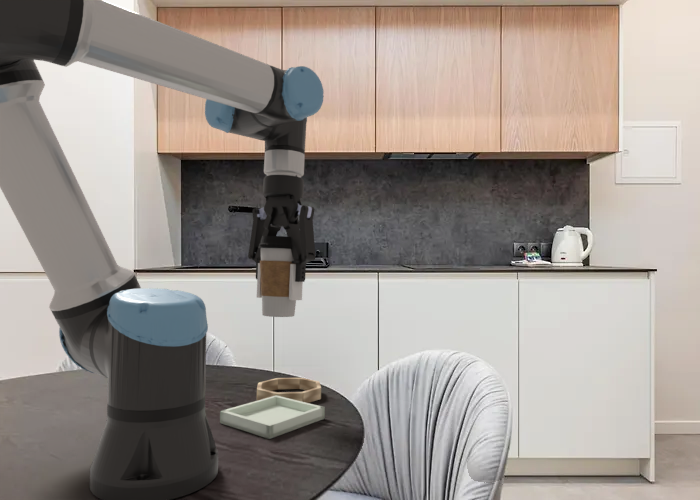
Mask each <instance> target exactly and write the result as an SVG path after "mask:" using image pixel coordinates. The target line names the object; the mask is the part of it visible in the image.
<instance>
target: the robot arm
mask: <svg viewBox="0 0 700 500" xmlns="http://www.w3.org/2000/svg"><path fill="white" fill-rule="evenodd" d="M35 61H42V62H46V63H50V64H54V65H57V66H61V67H65V68H66V67H69V66H70V65H72V64H74V63H77V62H79V63H83V64H87V65H88V66H89V65H90V66H93V67H96V68H99V69H104V70H106V71H110V72H113V73H117V74H120V75H123V76H127V77H129V78H130V77H131V78H133V79H138V80H141V81H144V82H148V83H151V84H155V85H158V86H161V87H164V88H167V89H171V90H175V91H179V92H182V93H186V94H188V95H191V96H195V97H198V98H201V99H205V104H204V105H205V106H204V116H205V120H206V122H207V124H208V125H209V126H210V127H212V128H213V129H216V130H219V131H222V132H224V133H226V134H233V135H238V136H242V137H246V138H251V139H256V140H260V141H264V158H263V159H264V162H263V163H264V164H263V173H264V175H265V176H264V177H263V181H262V182H263V183H262V184H263V186H262V195H263V196H264V198H265V202H264V205H263V207H261V208H252V219H253V220H252V227H251V236H250V239H249V241H250V242H249V248H248V253H247V254H248V255H247V257H248V259H249V260H252V261H254V262H255V279H256V281H257V283H256V298H259V299H262V294H261V274H260V261H261V249H259V244H260V243H261V239H262V236H278V233H279V232H280V231H281V228H283V229H284V230H285V233H286V235H287V236H286V237H291V241H292V249H291V252H292V256H293V259H294V260H293V261H291V262H292V263H293V264H290V284H289V300H296V301H303V282H304V283H305V281H306V270H307V269H306V268H307V267H306V266H307V264H308V263H310V262H311V261H315V260H316V246H315V233H314V232H315V231H314V216H315V207H313V206H308V205H305V204H304V205H303V203H302V200H301V199H302V198H303V197H304V189H305V187H304V185H305V180H304V179H303V178H302V177H303V176H304V175H305V156H306V154H305V152H306V135H307V132H306V131H307V122H308V118H309V117H311V116H313V115H315V114H317V113H318V112H319V111H320V110H321V109H322V108H321V107H322V106H323V103H324V94H325V93H324V92H325V91H324V86H323V84H322V81H321V79H320V77H319V75H318V74H317V73H316V72H315V71H314V70H313V69H311V68H310V67H308V66H304V65H303V66H302V65H300V66H299V65H298V66H294V67H292V66H291V67H288V68H287V69H281V68H279V67H276V66H273V65H270V64H268V63H265V62H262V61H260V60H257V59H255V58H253V57H250V56H247V55H244V54H242V53H240V52H237V51H234V50H232V49H230V48H227V47H224V46H222V45H219V44H217V43H214V42H212V41H210V40H206V39H204V38H201V37H198V36H196V35H194V34H191V33H189V32H186V31H183V30H181V29H178V28H176V27H173V26H170V25H169V24H166V23H162V22H160V21H157V20H155V19H153V18H150V17H147V16H145V15H143V14H140V13H137V12H135V11H132V10H130V9H127V8H125V7H122V6H120V5H117V4H114V3H113V2H112V3H111V2H109V1H106V0H0V190H1V192H2V193H3V195H4V198H5V199H6V202H7V203H8V205H9V207H10V209H11V210H12V212H13V214H14V216H15V218H16V220H17V222H18V223H19V225H20V228H21V230H22V231H23V233H24V235H25V238H26V240H28V243H29V245H30V247H31V249H32V251H33V253H34V254H35V256H36V258H37V260H38V262H39V263H40V265H41V267H42V269H43V271H44V273H45V275H46V277H47V278H48V281H49V282H50V284H51V286H52V288H53V290H54V294H53V296H52V299H51V301H50V303H49V307H48V308H49V310H50V311H51V313H52V315H53V317H54V319H55V321H56V322H57V325H58V327H59V330H58V334H59V335H58V336H59V340H60V344H61V347H62V349H63V351H64V353H65V354H66V355H67V357H68V358H69V359H70V360H71V361H72V362H73V363H74V364H75V365H76V366H77V367H78V368H79V367H80V368H81V369H82V370H85V371H86V372H89V373H92V374H95V375H99V376H101V377H104V378H106V379H107V396H106V397H107V399H106V400H107V401H106V402H107V403H106V404H107V406H106V407H107V408H106V423H105V425H104V427H103V431H102V434H101V437H100V439H99V443H98V445H97V448H96V451H95V454H94V457H93V459H92V463H91V465H90V469H89V491H90V493H92V495H94V496H95V497H96V498H98V499H100V500H174V499H178V498H181V497H185V496H188V495H190V494H193V493H195V492H198V491H199V490H201V489H202V488H205V487H206V486H207V485H209V484H210V483H212V481H213V480H215V478H216V477H217V475H218V472H219V451H218V448H217V446H216V442H215V440H214V435H213V433H212V430H211V426H210V424H209V420H208V418H207V414H206V379H207V378H206V376H207V374H206V373H207V369H206V367H207V333H208V327H209V324H208V319H207V309H206V304H205V302H204V301H203V299H202V298H201V297H200V296H198V295H197V294H194V293H191V292H187V291H184V290H183V291H182V290H178V289H177V290H173V289H167V288H158V287H157V288H153V287H149V288H148V287H147V288H146V287H145V288H144V287H143V288H142V287H141V284H140V283H139V280H138V278H137V276H136V275H135V273H134V271H133V270H131V269H128V268H126V267H123V266H121V265H118V263H117V260H116V259H115V256H114V254H113V253H112V251H111V248H110V246H109V244H108V242H107V240H106V238H105V236H104V234H103V231H102V229H101V227H100V225H99V224H98V221H97V219H96V217H95V215H94V213H93V211H92V209H91V206H90V204H89V202H88V200H87V198H86V196H85V194H84V192H83V189H82V188H81V186H80V183H79V181H78V180H77V177H76V175H75V173H74V172H73V169H72V167H71V165H70V163H69V161H68V159H67V156H66V154H65V152H64V150H63V148H62V147H61V144H60V142H59V140H58V138H57V136H56V133H55V131H54V129H53V127H52V125H51V123H50V121H49V118H48V116H47V115H46V112H45V111H44V108H43V106H42V105H41V102H40V97H41V95H42V92H43V90H44V88H45V86H46V85H45V81H44V80H43V77H42V75H41V73H40V71H39V69H38V67H37V64H36V62H35Z"/></svg>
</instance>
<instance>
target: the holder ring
mask: <svg viewBox="0 0 700 500" xmlns="http://www.w3.org/2000/svg"><path fill="white" fill-rule="evenodd" d="M277 390H302V391H291V392H290V391H288V392H287V391H286V392H285V391H284V392H283V391H282V392H280V391H279V392H277ZM275 395H277V396H281V397H285V398H289V399H293V400H297V401H302V402H306V403H310V404H311V403H313V402H315V401H318V400H321V399H322V386H321V383H320V381H319V380H314V379H309V378H304V377H276V378H271V379H268V380H264V381H260V382H257V387H256V401H258V400H261V399H265V398H268V397H272V396H275Z"/></svg>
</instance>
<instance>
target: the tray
mask: <svg viewBox="0 0 700 500" xmlns="http://www.w3.org/2000/svg"><path fill="white" fill-rule="evenodd" d="M325 411H326V410H325V406H322V405H317V404H313V403H311V402H310V403H306V402H302V401H297V400H293V399H289V398H285V397H281V396H277V395H275V396H272V397H268V398H265V399H261V400H258V401H257V400H255V401H250V402H247V403H244V404H240V405H237V406H233V407H229V408H227V409H226V408H225V409H222V410H220V411H219V424H222V425H224V426H228V427H231V428H234V429H236V430H241V431H243V432H247V433H250V434H253V435H256V436H259V437H262V438H265V439H269V440H270V439H274V438H276V437H279V436H282V435H284V434H287V433H289V432H292V431H295V430H297V429H300V428H303V427H306V426H308V425H311V424H314V423H317V422H319V421H322V420H324V419H325V417H326V416H325V414H326V413H325Z"/></svg>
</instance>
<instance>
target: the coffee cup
mask: <svg viewBox="0 0 700 500" xmlns="http://www.w3.org/2000/svg"><path fill="white" fill-rule="evenodd" d="M259 249H261V261H260V274H261V294H262V298H261V311H262V312H261V313H262V316H264V317H271V318H290V317H291V318H292V317H293V318H294V317H295V315H296V314H295V313H296V311H295V310H296V306H297V305H296V304H297V300H289V284H290V264H293V263H292V262H291V261H293V260H294V259H293V256H292V252H291V249H292V241H291V237H288V236H284V235H283V236H282V235H279V236H278V235H276V236H262V239H261V243H260V244H259Z"/></svg>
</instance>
